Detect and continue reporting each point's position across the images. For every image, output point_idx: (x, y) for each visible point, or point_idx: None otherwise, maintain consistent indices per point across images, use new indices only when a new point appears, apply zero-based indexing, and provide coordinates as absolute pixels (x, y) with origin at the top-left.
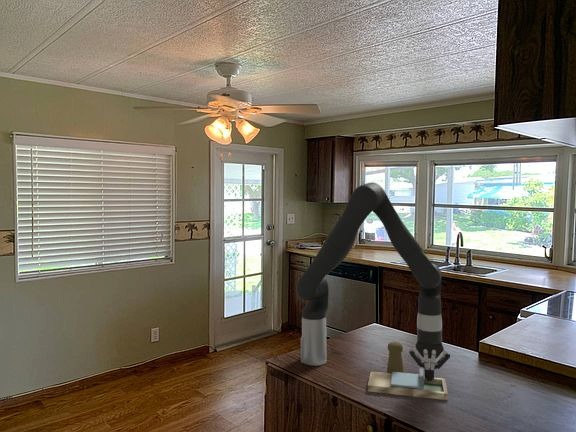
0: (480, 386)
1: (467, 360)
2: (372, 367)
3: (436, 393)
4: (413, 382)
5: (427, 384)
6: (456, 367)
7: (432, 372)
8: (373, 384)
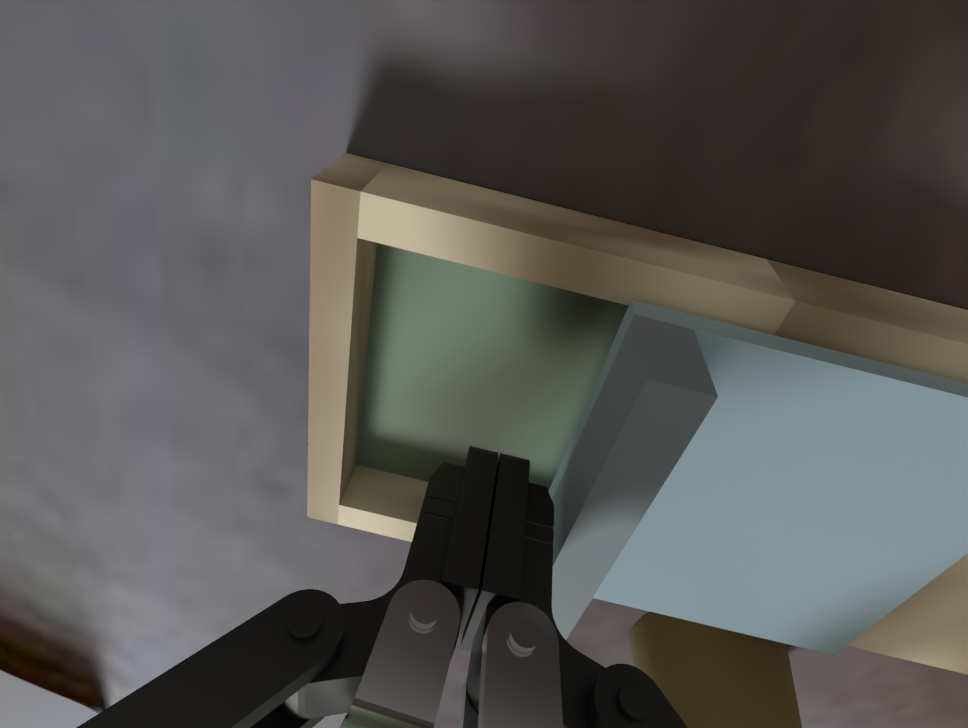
0: (33, 425)
1: None
2: (843, 718)
3: (471, 212)
4: (723, 449)
5: None
6: None
7: (435, 551)
8: None
